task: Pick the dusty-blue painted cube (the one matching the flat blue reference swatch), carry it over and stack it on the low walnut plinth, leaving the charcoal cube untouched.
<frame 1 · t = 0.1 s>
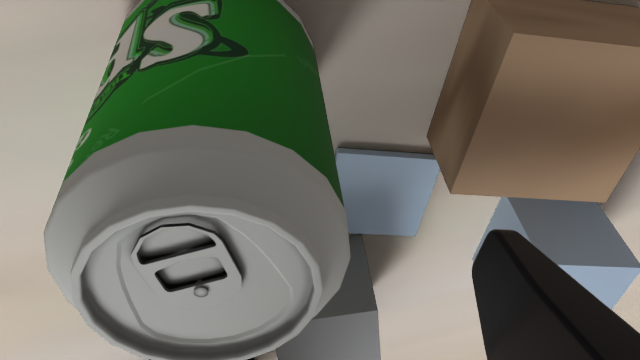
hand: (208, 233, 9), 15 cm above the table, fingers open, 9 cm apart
blue cube: (530, 227, 31), on the table
soda can: (219, 54, 23), on the table
walnut plinth: (526, 75, 25), on the table
reference swatch: (378, 192, 28), on the table
charcoal cube: (318, 270, 32), on the table
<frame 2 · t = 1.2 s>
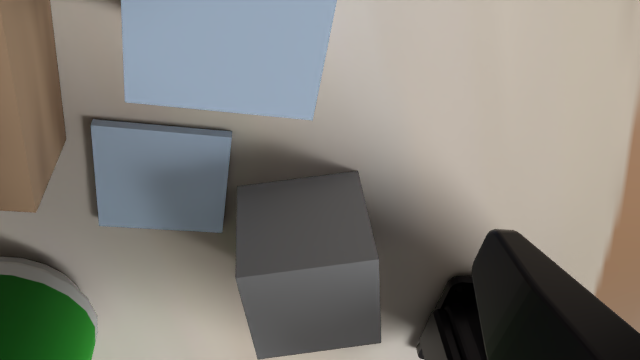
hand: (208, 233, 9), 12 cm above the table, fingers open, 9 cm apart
soda can: (19, 296, 27), on the table
reference swatch: (163, 177, 23), on the table
charcoal cube: (303, 220, 25), on the table
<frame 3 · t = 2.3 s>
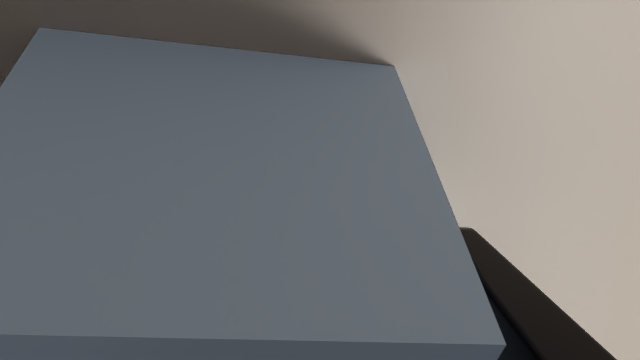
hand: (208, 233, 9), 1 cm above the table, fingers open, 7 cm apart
blue cube: (216, 179, 10), on the table
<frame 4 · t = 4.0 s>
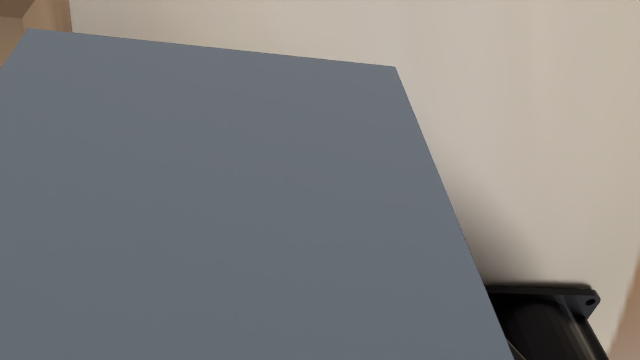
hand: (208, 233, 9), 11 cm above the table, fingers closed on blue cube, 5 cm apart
blue cube: (212, 186, 9), point 10 cm above the table, touching gripper
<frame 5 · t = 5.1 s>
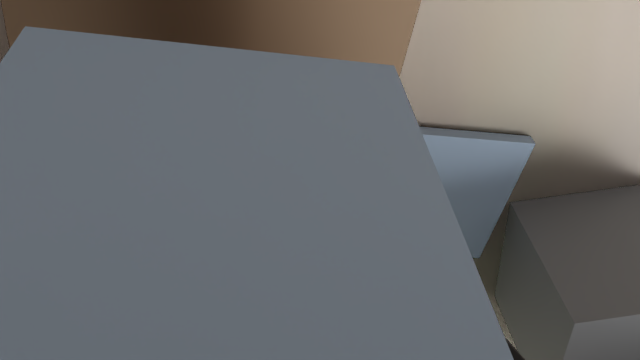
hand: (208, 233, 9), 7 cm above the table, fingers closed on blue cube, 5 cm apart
blue cube: (211, 185, 9), point 6 cm above the table, touching gripper
walnut plinth: (219, 23, 14), on the table
reference swatch: (429, 193, 19), on the table
charcoal cube: (568, 241, 21), on the table
when the fingers open (6 cm above the table, at t = 5.6 s): blue cube drops 1 cm, resting on walnut plinth.
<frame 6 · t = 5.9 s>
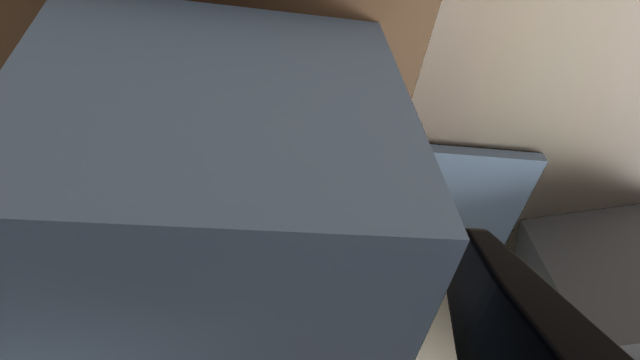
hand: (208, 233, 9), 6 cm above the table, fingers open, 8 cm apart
blue cube: (217, 135, 11), point 4 cm above the table, touching walnut plinth
walnut plinth: (220, 39, 14), on the table
reference swatch: (437, 210, 18), on the table
charcoal cube: (579, 259, 20), on the table
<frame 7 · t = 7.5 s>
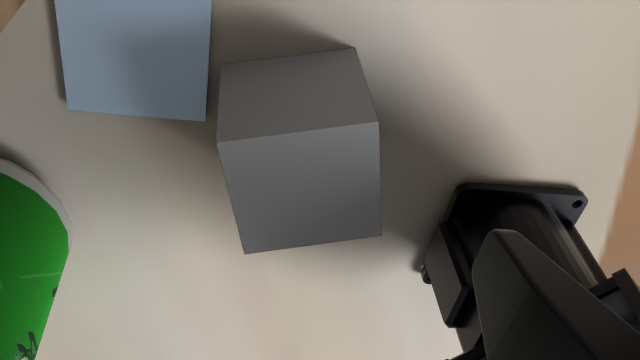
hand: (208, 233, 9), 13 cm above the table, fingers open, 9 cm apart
reference swatch: (137, 51, 21), on the table
charcoal cube: (295, 111, 23), on the table
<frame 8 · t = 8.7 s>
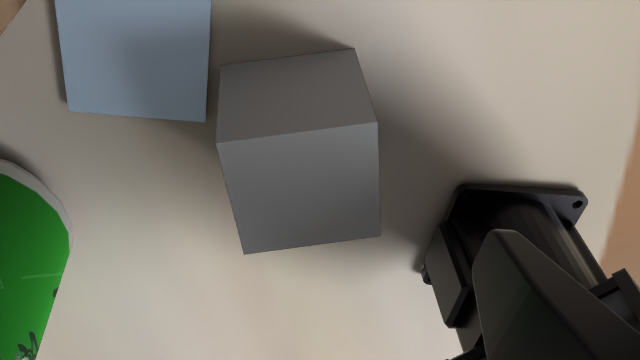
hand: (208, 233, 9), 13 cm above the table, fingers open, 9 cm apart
reference swatch: (137, 52, 21), on the table
charcoal cube: (295, 112, 23), on the table
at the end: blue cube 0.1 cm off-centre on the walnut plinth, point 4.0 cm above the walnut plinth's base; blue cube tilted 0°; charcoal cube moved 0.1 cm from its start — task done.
